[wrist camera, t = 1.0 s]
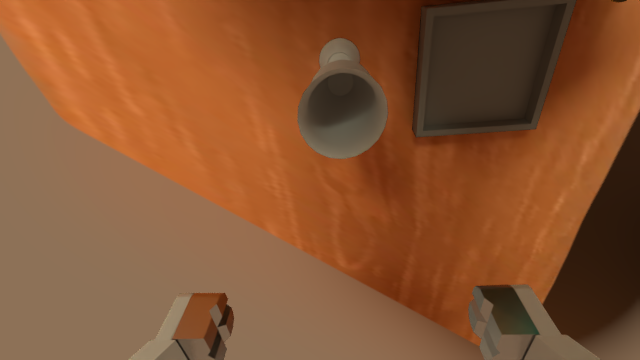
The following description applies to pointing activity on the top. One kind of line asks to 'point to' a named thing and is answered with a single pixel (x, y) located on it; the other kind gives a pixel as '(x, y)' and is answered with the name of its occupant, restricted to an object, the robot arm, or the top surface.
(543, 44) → the tray
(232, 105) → the top surface
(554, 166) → the top surface
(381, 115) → the chalice
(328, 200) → the top surface
